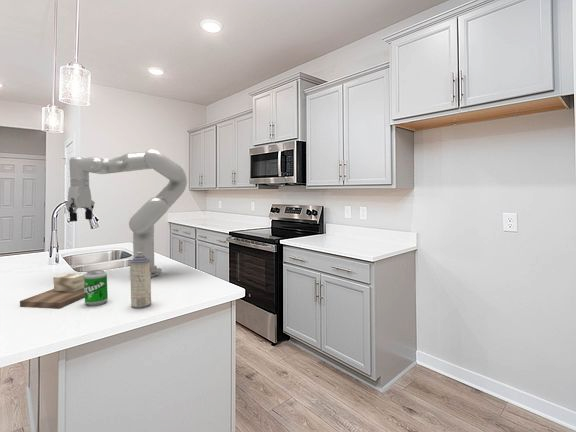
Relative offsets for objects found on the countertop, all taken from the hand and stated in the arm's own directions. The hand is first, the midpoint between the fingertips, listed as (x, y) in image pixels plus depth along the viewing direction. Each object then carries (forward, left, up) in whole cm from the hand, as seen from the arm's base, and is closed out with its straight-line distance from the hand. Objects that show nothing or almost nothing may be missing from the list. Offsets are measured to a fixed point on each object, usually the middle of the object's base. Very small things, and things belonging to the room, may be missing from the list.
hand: (81, 220), depth 154 cm
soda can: (-29, +30, -28) cm, 51 cm away
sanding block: (-12, +23, -26) cm, 37 cm away
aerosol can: (-47, +30, -28) cm, 63 cm away
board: (-12, +26, -28) cm, 40 cm away
